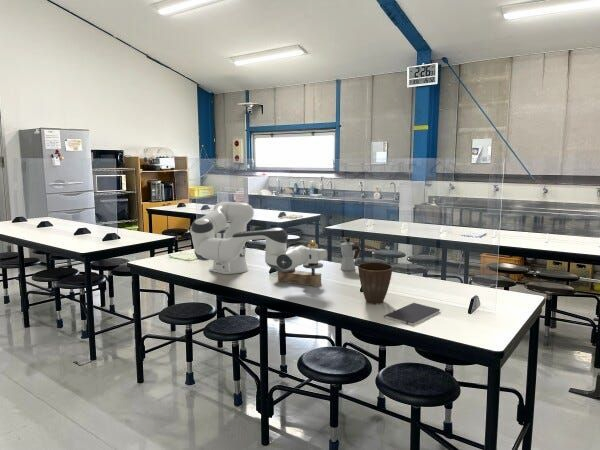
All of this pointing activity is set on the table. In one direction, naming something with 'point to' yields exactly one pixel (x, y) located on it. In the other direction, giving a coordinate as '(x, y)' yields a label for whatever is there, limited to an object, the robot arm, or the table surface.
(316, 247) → the brass weight
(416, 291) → the table surface
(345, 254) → the coffee maker
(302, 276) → the balance
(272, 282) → the table surface
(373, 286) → the plant pot
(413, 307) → the notebook
